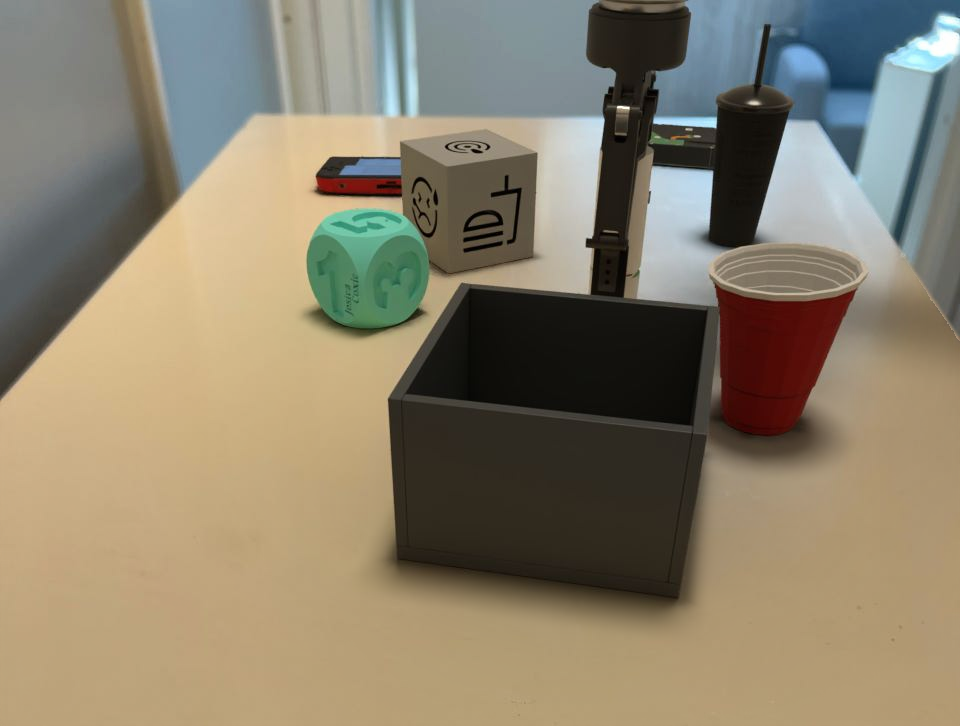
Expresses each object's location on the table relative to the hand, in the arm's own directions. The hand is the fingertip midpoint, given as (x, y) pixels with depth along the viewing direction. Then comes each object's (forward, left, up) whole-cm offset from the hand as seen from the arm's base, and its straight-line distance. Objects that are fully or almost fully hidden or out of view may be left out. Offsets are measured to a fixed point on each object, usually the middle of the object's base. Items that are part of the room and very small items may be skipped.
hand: (611, 301), depth 87 cm
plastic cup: (-13, +14, -3) cm, 19 cm away
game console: (+33, -38, -3) cm, 50 cm away
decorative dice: (+22, +1, -3) cm, 22 cm away
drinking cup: (-10, -27, -3) cm, 29 cm away
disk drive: (-2, -58, -3) cm, 58 cm away
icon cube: (+17, -17, -3) cm, 24 cm away
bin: (0, +29, -3) cm, 29 cm away
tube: (0, 0, -3) cm, 3 cm away
